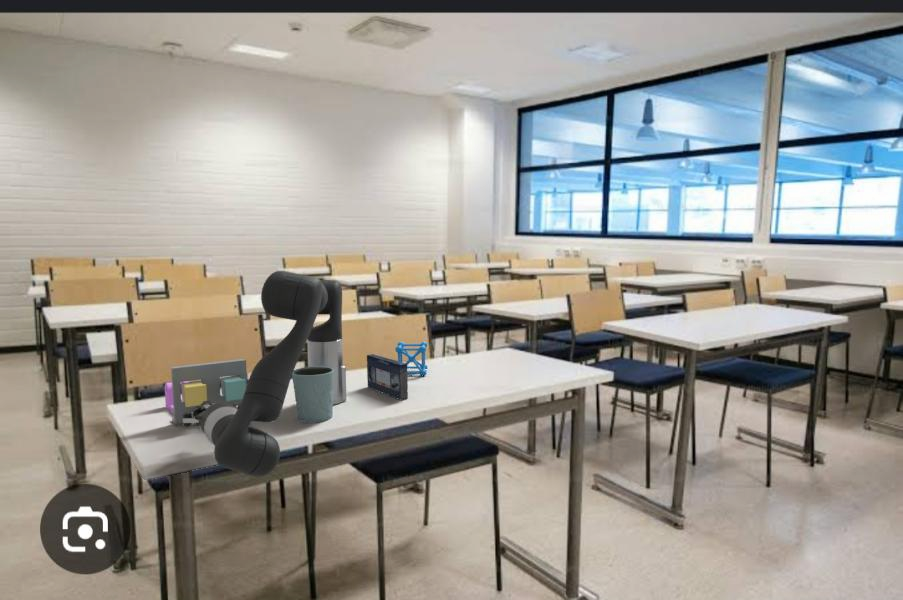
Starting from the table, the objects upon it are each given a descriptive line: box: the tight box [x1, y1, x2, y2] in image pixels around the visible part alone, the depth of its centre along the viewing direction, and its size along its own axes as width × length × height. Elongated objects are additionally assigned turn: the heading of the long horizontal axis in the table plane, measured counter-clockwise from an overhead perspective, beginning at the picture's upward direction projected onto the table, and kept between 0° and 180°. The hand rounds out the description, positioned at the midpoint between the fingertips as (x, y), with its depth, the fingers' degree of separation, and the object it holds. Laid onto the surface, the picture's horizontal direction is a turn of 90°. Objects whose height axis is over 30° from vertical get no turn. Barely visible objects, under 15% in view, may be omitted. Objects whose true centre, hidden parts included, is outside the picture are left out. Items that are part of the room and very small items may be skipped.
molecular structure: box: [394, 341, 428, 376], centre depth 195 cm, size 10×10×10 cm
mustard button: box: [181, 380, 207, 407], centre depth 141 cm, size 5×6×5 cm
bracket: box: [164, 381, 191, 414], centre depth 155 cm, size 13×6×7 cm, turn 40°
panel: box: [170, 358, 248, 427], centre depth 148 cm, size 17×5×14 cm, turn 123°
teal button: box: [220, 375, 246, 401], centre depth 146 cm, size 5×6×5 cm
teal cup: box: [291, 366, 334, 423], centre depth 148 cm, size 10×10×12 cm
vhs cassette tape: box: [366, 353, 409, 400], centre depth 171 cm, size 18×3×10 cm, turn 37°
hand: (206, 405), depth 129 cm, fingers closed
